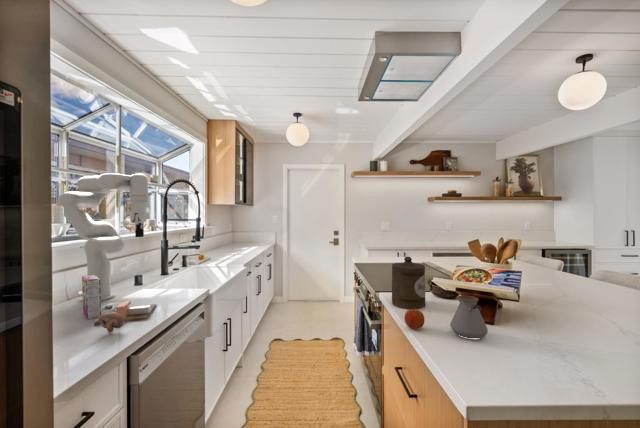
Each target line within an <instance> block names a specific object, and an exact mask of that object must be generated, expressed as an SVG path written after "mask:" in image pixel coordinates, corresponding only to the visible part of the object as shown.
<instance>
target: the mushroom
mask: <svg viewBox="0 0 640 428" xmlns="http://www.w3.org/2000/svg"><path fill="white" fill-rule="evenodd" d="M98 319H99V323H100V324H101V325H100V326H101V327H102V328H104V329H106V330H107V332H108V334H112V333H113V332H114V330H115V329H118V330H119V329H121V328H122V327H123V326H124V325H125V324H124V323H125V322H124V319H123V317H122V316H121V315H120V314H118V313H117V312H108V313H104V314H102V315H101V316H100V317H98Z"/></svg>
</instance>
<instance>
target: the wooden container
mask: <svg viewBox="0 0 640 428" xmlns="http://www.w3.org/2000/svg"><path fill="white" fill-rule="evenodd" d="M412 259H413V258H412V257H411V256H405V257H404V258H403V260H404V261H403V262H395V263H392V265H391V304H392V305H393V306H395V307H396V308H400V309H405V310H410V309H416V310H419V309H422V308H425V307H426V266H425V264H421V263H417V262H413V261H412ZM414 307H415V308H414Z"/></svg>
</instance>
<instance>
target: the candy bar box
mask: <svg viewBox="0 0 640 428" xmlns="http://www.w3.org/2000/svg"><path fill="white" fill-rule="evenodd" d="M81 292H82V296H81V298H82V314H83V316H84V317H85V318H86V319H87V320H92V319H96V318H99V317H100V316H101V309H102V304H101V303H102V302H101V294H100V278H98V277H97V276H96V275H91V276H87V275H84V276H82V277H81Z"/></svg>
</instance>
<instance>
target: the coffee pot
mask: <svg viewBox="0 0 640 428" xmlns="http://www.w3.org/2000/svg"><path fill="white" fill-rule="evenodd" d="M456 299H457V300H458V302H459V304H458V306H457V309H456V311H455V313H454V315H453V316H452V318H451V319H452V320H451V321H450V323H449V326H450V328H451V330H452V331H453V333H455V334H456V335H457V334H458V335H460V336H463V337H467V338H481V337H482V338H484V337H485V336H486V335H487V333H488V327H487V325H486V322H485V320H484V318H483V316H482V314H481V312H480V311H481V307H480V306H479V305H478V302H479V299H480V298H478V297H476V296H473V295H472V296H471V295H465V294H464V295H458V296H457V297H456ZM478 307H479V308H478ZM458 335H457V336H458ZM482 338H481V339H482Z"/></svg>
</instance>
